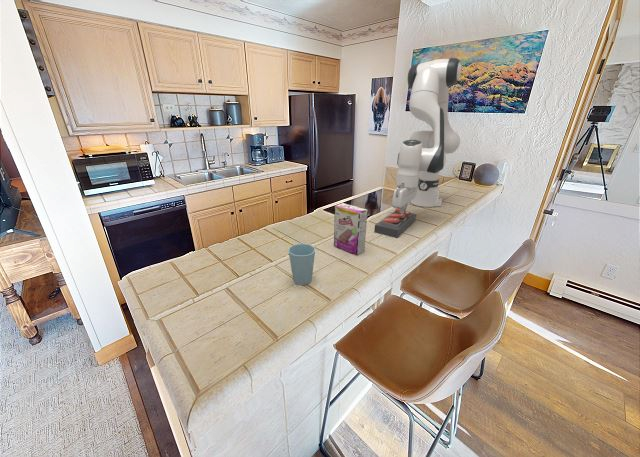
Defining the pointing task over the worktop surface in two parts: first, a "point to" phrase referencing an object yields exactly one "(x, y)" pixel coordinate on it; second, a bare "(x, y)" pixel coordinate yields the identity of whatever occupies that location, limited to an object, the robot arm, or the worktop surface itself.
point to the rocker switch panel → (395, 225)
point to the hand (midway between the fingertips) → (402, 212)
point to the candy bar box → (350, 228)
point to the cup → (302, 263)
